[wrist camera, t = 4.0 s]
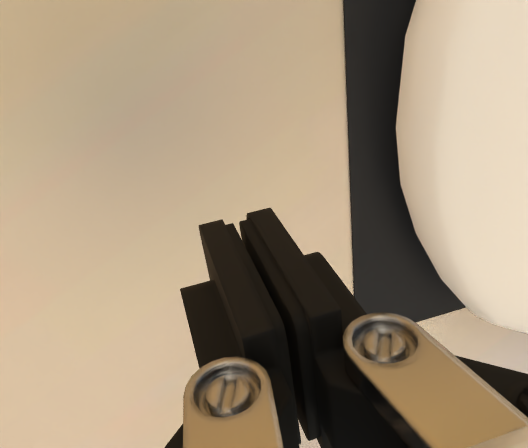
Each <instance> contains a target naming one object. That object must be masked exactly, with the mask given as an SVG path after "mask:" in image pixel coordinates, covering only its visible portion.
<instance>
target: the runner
mask: <svg viewBox="0 0 528 448" xmlns="http://www.w3.org/2000/svg"><path fill="white" fill-rule="evenodd" d="M415 2H416V0H343V3H344V30H345V57H346V84H347V112H348V139H349V166H350V193H351V220H352V248H353V275H354V298H355V299H356V300H357V302H358V303H359V304H360V305H361V307H362V308H363V309H364V311H365V312H366V313H367V314H371V313H381V312H386V313H393V314H398V315H401V316H404V317H407V318H409V319H410V320H412V321H414V322H419V321H422V320H425V319H429V318H432V317H435V316H439V315H442V314H445V313H448V312H452V311H455V310H458V309H462V308H465V307H466V306H465V305H464V304H463V303H462V302H461V301H460V300H459V299H458V297H457V296H456V295H455V294H454V293H453V292H452V291H451V290H450V288H449V287H448V286H447V285H446V284H445V283H444V282H443V281H442V279H441V278H440V276H439V275H438V273H437V271H436V269H435V267H434V266H433V264H432V262H431V260H430V258H429V256H428V255H427V253H426V251H425V249H424V247H423V246H422V244H421V242H420V240H419V238H418V236H417V235H416V232H415V229H414V226H413V223H412V219H411V216H410V213H409V210H408V207H407V204H406V200H405V197H404V194H403V191H402V188H401V184H400V172H399V160H398V148H397V136H396V120H397V110H398V101H399V91H400V82H401V72H402V63H403V53H404V43H405V35H406V32H407V29H408V25H409V22H410V19H411V15H412V12H413V9H414V6H415Z"/></svg>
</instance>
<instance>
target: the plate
mask: <svg viewBox="0 0 528 448" xmlns="http://www.w3.org/2000/svg"><path fill="white" fill-rule="evenodd" d="M396 136H397V148H398V160H399V172H400V184H401V188H402V191H403V194H404V197H405V200H406V204H407V207H408V210H409V213H410V216H411V219H412V223H413V226H414V229H415V232H416V235H417V236H418V238H419V240H420V242H421V244H422V246H423V247H424V249H425V251H426V253H427V255H428V256H429V258H430V260H431V262H432V264H433V266H434V267H435V269H436V271H437V273H438V275H439V276H440V278H441V279H442V281H443V282H444V283H445V284H446V285H447V286H448V287H449V288H450V290H451V291H452V292H453V293H454V294H455V295H456V296H457V297H458V299H459V300H460V301H461V302H462V303H463V304H464V305H465V306H466V308H467V309H468V310H469V311H470V312H472V313H473V314H474V315H475V316H477V317H479V318H481V319H483V320H485V321H487V322H489V323H491V324H493V325H496V326H500V327H504V328H507V329H511V330H515V331H518V332H522V333H526V334H528V0H416V2H415V6H414V9H413V12H412V15H411V19H410V22H409V25H408V29H407V32H406V35H405V43H404V53H403V63H402V72H401V82H400V91H399V101H398V110H397V120H396Z"/></svg>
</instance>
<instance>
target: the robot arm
mask: <svg viewBox="0 0 528 448" xmlns="http://www.w3.org/2000/svg"><path fill="white" fill-rule="evenodd" d="M239 224H240V231H241V237H242V240H241V238H240V236H239V234H238V232H237V230H236V228H235V226H234V224H233V223H232V224H228V225H225V224H224V222H223V220H218V221H214V222H210V223H206V224H202V225H199V231H200V236H201V240H202V245H203V249H204V254H205V259H206V263H207V268H208V272H209V277H210V281H207V282H204V283H200V284H196V285H193V286H189V287H185V288H181V289H180V291H181V295H182V299H183V303H184V307H185V311H186V315H187V319H188V323H189V328H190V332H191V336H192V340H193V344H194V348H195V352H196V356H197V360H198V364H199V368H200V369H199V370H198V371H197V372H196V373H195V374H193V375H192V376H191V378H190V380H189V382H188V383H187V385H186V387H185V392H184V397H183V424H182V426H181V427H180V428H179V429H178V431H177V432H176V433H175V435H174V436H173V437H172V439H171V440H170V441H169V443H168V444H167V445H166V446H165V448H299V444H301V438H300V430H299V423H298V420H299V422H300V424H301V427H302V429H303V431H304V433H305V436H306V438H307V439H308V440H309V441H310V440H313V439H316V438H317V440H318V442H319V444H320V447H321V448H528V374H525V373H521V372H517V371H514V370H510V369H506V368H502V367H498V366H494V365H490V364H486V363H482V362H478V361H474V360H470V359H466V358H462V357H459V356H455V355H453V354H452V353H451V352H450V351H449V350H448V349H446V348H445V347H444V346H443V345H442V344H440V343H439V342H438V341H437V340H436V339H435V338H433V337H432V336H431V335H430V334H429V333H428V332H426V331H425V330H424V329H423V328H422V327H420V326H419V325H418V324H417V323H415V322H414V321H412V320H410V319H409V318H407V317H404V316H401V315H398V314H393V313H386V312H381V313H371V314H367V313H366V312H365V311H364V309H363V308H362V307H361V305H360V304H359V303H358V302H357V300H356V299H355V298H354V296H353V295H352V294H351V292H350V291H349V290H348V288H347V287H346V286H345V284H344V283H343V282H342V280H341V279H340V278H339V277H338V275H337V274H336V273H335V271H334V270H333V269H332V267H331V266H330V265H329V263H328V262H327V261H326V259H325V258H324V257H323V256H322V255H321V254H320V253H319V252H315V253H311V254H307V255H303V253H302V252H301V251H300V249H299V248H298V246H297V245H296V243H295V242H294V241H293V239H292V238H291V236H290V235H289V233H288V232H287V230H286V229H285V228H284V226H283V225H282V223H281V222H280V220H279V219H278V218H277V216H276V215H275V213H274V212H273V210H272V209H271V208H267V209H263V210H258V211H254V212H250V213H247V220H244V221H240V223H239Z"/></svg>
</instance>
